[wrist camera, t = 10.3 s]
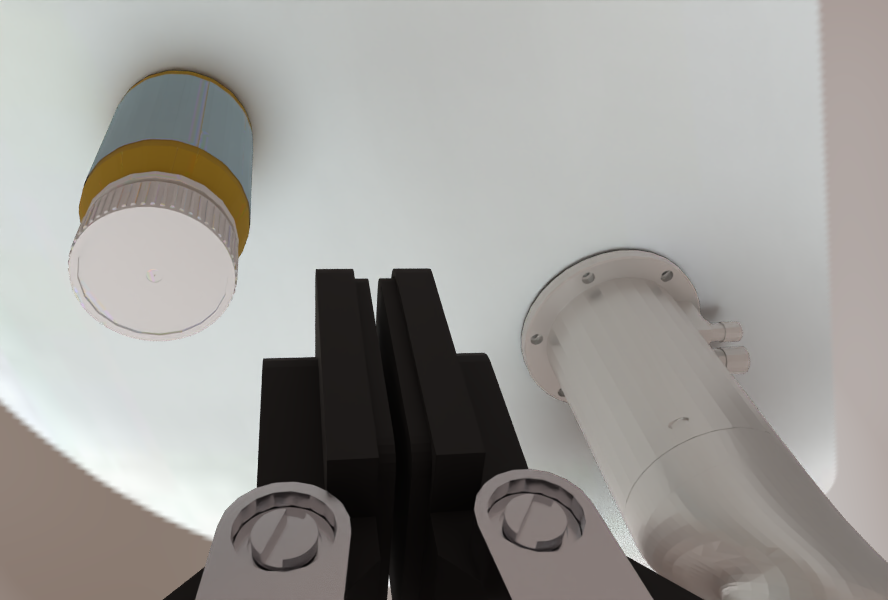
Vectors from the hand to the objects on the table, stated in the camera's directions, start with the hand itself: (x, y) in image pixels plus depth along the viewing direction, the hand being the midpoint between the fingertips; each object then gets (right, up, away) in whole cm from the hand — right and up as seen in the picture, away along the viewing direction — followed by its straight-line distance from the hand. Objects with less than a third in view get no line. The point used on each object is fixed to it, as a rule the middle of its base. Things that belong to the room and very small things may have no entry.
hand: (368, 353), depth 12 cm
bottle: (-13, +10, +31) cm, 35 cm away
